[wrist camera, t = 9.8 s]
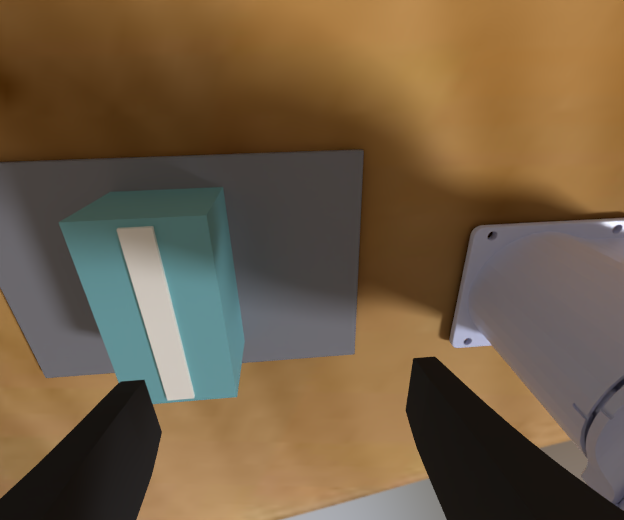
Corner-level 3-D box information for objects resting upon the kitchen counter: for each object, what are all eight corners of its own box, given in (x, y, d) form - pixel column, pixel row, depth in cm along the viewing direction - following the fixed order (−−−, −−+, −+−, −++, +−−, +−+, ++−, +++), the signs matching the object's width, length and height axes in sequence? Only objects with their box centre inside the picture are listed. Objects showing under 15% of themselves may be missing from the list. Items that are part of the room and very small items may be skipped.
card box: (244, 341, 20) (236, 399, 16) (155, 347, 19) (126, 408, 16) (223, 186, 16) (205, 216, 12) (110, 191, 15) (56, 224, 12)
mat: (361, 149, 16) (363, 150, 15) (353, 349, 21) (354, 354, 21) (-53, 164, 14) (-61, 165, 14) (50, 372, 20) (45, 378, 19)
